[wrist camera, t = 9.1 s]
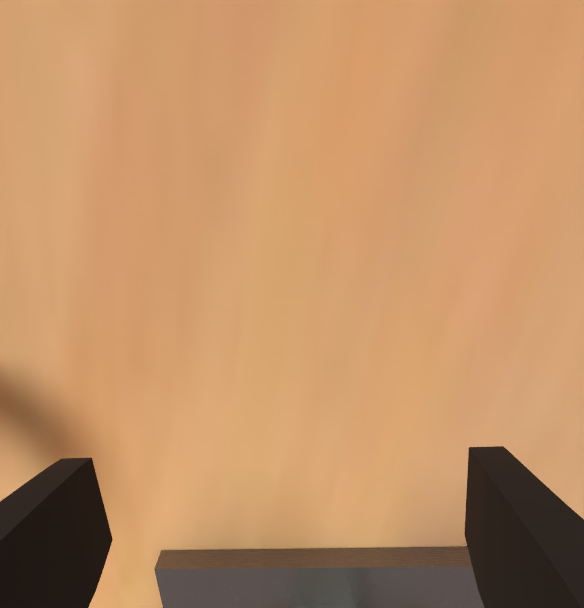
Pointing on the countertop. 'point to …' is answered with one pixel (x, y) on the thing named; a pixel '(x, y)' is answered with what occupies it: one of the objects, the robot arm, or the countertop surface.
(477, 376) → the countertop surface
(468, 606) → the standoff plate
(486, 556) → the robot arm
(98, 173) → the countertop surface
